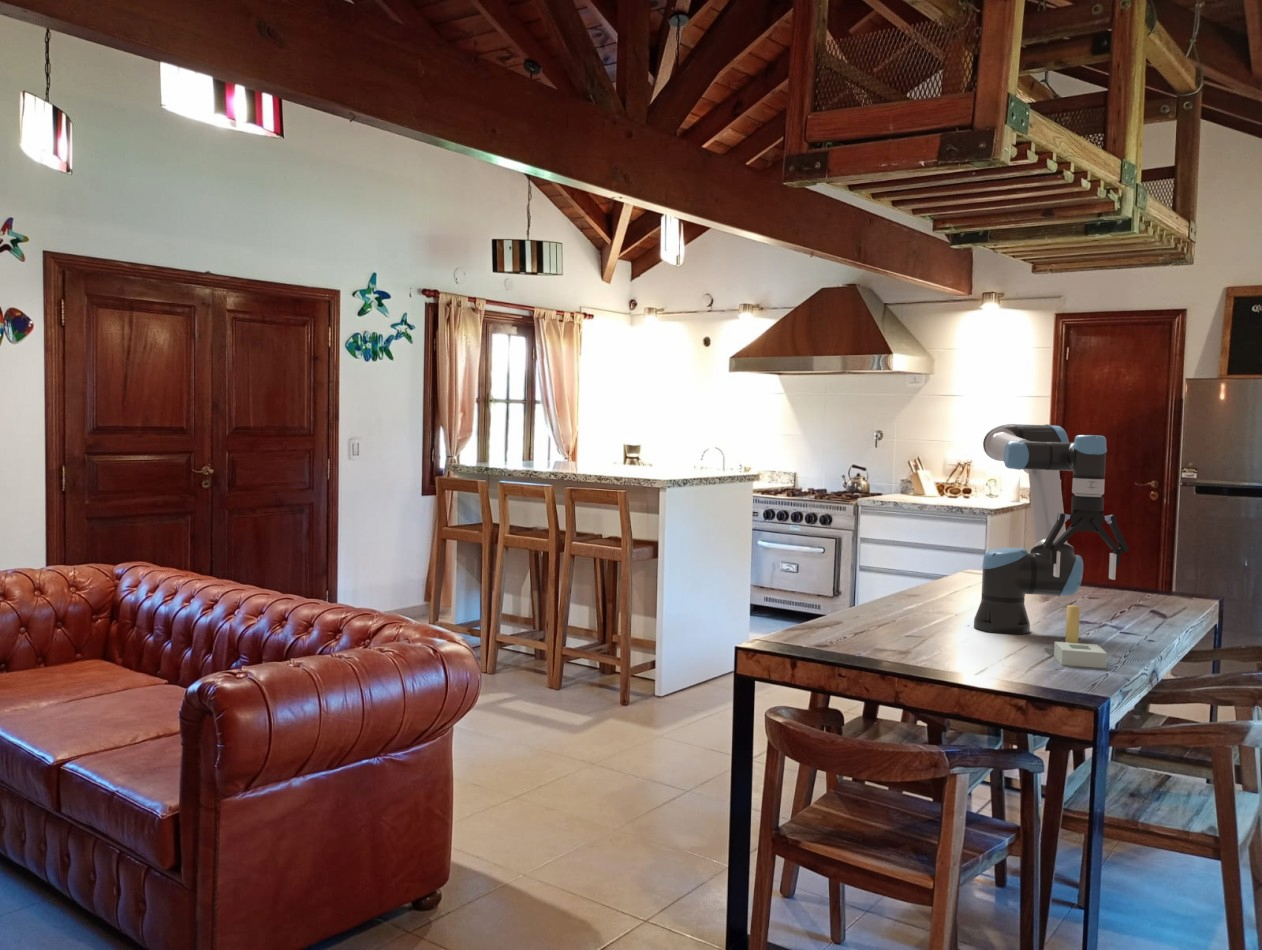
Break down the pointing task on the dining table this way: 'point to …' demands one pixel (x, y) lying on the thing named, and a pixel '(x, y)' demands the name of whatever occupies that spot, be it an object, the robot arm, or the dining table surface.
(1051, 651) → the mat
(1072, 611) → the peg
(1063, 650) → the hole block
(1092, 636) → the dining table surface
